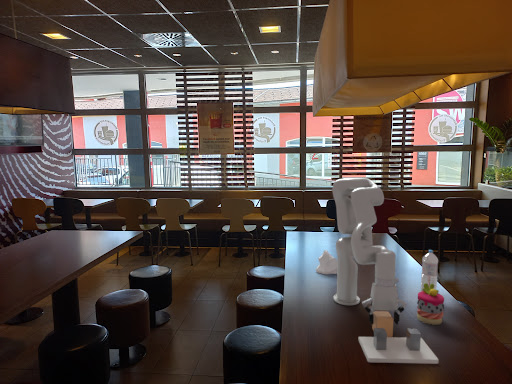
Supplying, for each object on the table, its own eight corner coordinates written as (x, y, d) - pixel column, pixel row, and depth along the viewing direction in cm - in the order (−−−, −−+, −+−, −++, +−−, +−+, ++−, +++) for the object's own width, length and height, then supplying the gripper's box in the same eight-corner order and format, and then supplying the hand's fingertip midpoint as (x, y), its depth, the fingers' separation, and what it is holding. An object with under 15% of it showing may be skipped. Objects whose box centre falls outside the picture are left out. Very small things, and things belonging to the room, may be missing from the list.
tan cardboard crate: (372, 328, 145) (372, 311, 144) (387, 328, 145) (388, 311, 144) (376, 336, 139) (377, 318, 138) (392, 336, 139) (393, 318, 138)
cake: (448, 323, 149) (451, 289, 147) (428, 326, 146) (430, 292, 144) (430, 312, 159) (432, 280, 157) (410, 315, 156) (412, 283, 154)
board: (358, 340, 136) (358, 336, 136) (421, 341, 135) (421, 337, 135) (368, 362, 122) (368, 358, 122) (438, 363, 121) (438, 359, 121)
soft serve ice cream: (332, 279, 202) (327, 257, 199) (312, 275, 214) (307, 254, 211) (344, 269, 210) (340, 248, 207) (324, 265, 222) (320, 245, 218)
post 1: (373, 348, 131) (373, 327, 130) (382, 348, 131) (383, 328, 130) (375, 353, 127) (376, 333, 126) (386, 353, 127) (386, 333, 126)
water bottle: (423, 295, 177) (426, 247, 174) (437, 299, 172) (440, 250, 169) (417, 299, 172) (420, 250, 169) (432, 304, 167) (435, 253, 164)
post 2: (405, 348, 130) (406, 328, 129) (415, 348, 130) (416, 328, 129) (409, 354, 127) (410, 333, 126) (419, 354, 127) (420, 333, 126)
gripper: (403, 278, 142) (402, 318, 144) (360, 278, 143) (359, 318, 145) (410, 285, 135) (409, 327, 136) (365, 284, 135) (364, 327, 137)
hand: (383, 322), depth 140 cm, fingers open, 9 cm apart
